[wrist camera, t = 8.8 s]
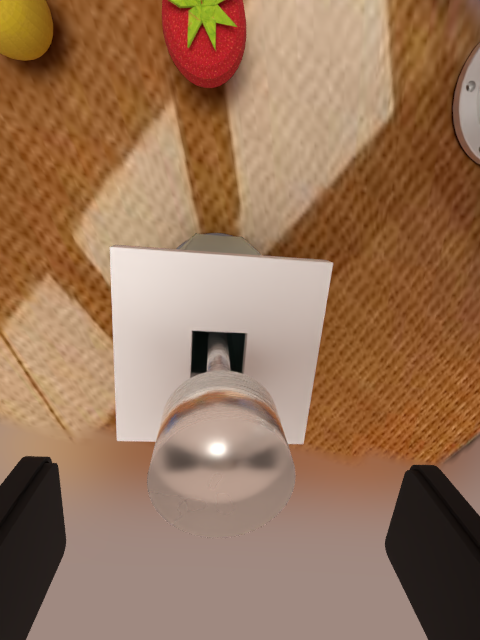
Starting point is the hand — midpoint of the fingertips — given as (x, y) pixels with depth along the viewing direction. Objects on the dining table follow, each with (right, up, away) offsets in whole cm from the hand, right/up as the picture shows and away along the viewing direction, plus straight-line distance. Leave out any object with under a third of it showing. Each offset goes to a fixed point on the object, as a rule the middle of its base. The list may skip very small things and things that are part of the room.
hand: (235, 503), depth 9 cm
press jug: (-2, +7, +26) cm, 27 cm away
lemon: (-17, +28, +18) cm, 38 cm away
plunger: (-2, +8, +24) cm, 25 cm away
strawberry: (-3, +27, +20) cm, 34 cm away
